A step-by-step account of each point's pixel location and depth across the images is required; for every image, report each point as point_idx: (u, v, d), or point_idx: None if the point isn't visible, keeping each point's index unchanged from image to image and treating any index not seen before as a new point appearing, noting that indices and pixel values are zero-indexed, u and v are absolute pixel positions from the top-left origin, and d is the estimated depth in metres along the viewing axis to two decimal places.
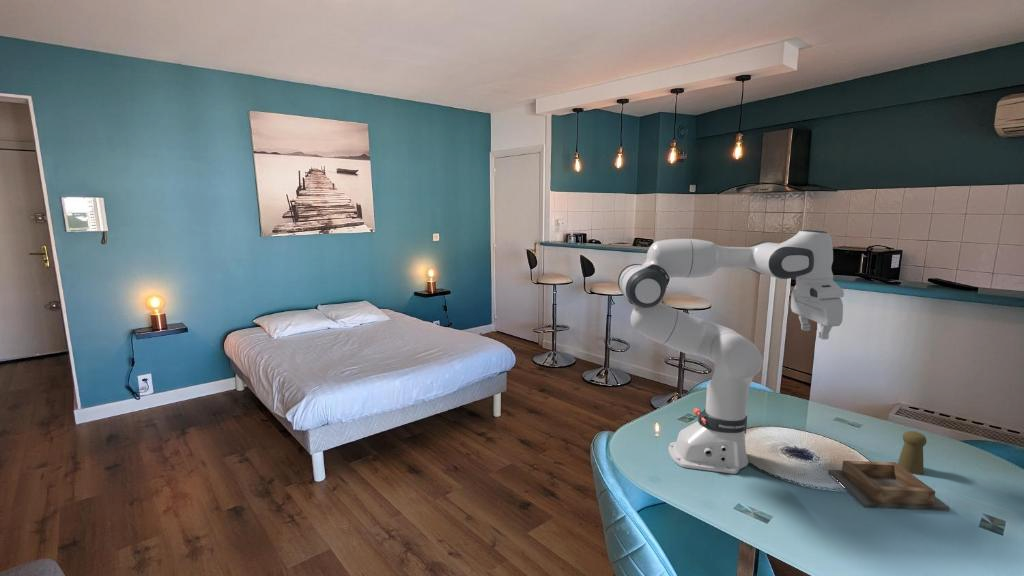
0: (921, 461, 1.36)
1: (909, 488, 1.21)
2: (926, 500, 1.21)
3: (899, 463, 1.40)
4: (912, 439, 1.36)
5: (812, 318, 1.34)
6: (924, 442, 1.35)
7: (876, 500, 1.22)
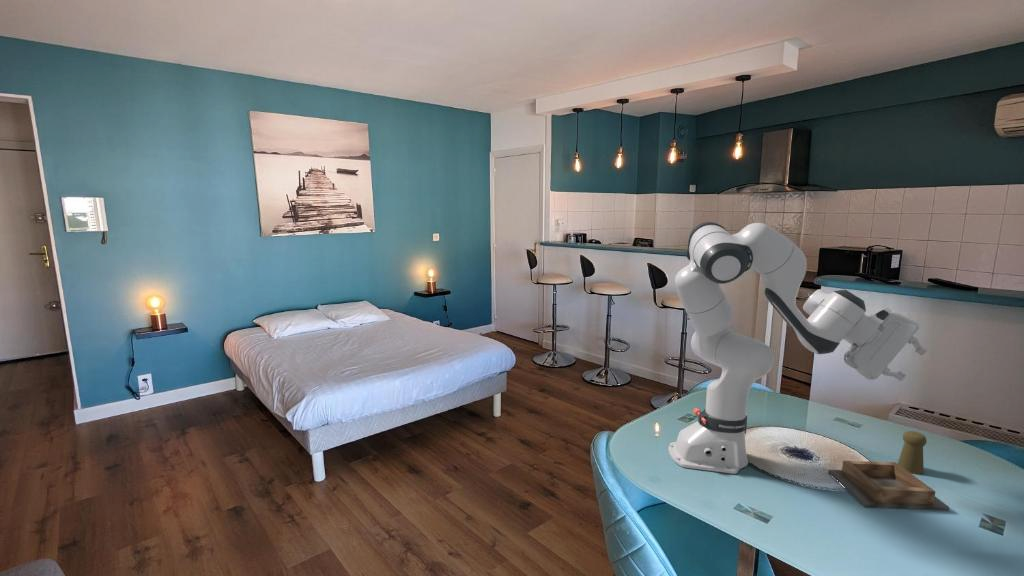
0: (921, 461, 1.36)
1: (909, 488, 1.21)
2: (926, 500, 1.21)
3: (899, 463, 1.40)
4: (912, 439, 1.36)
5: (902, 343, 1.30)
6: (924, 442, 1.35)
7: (876, 500, 1.22)
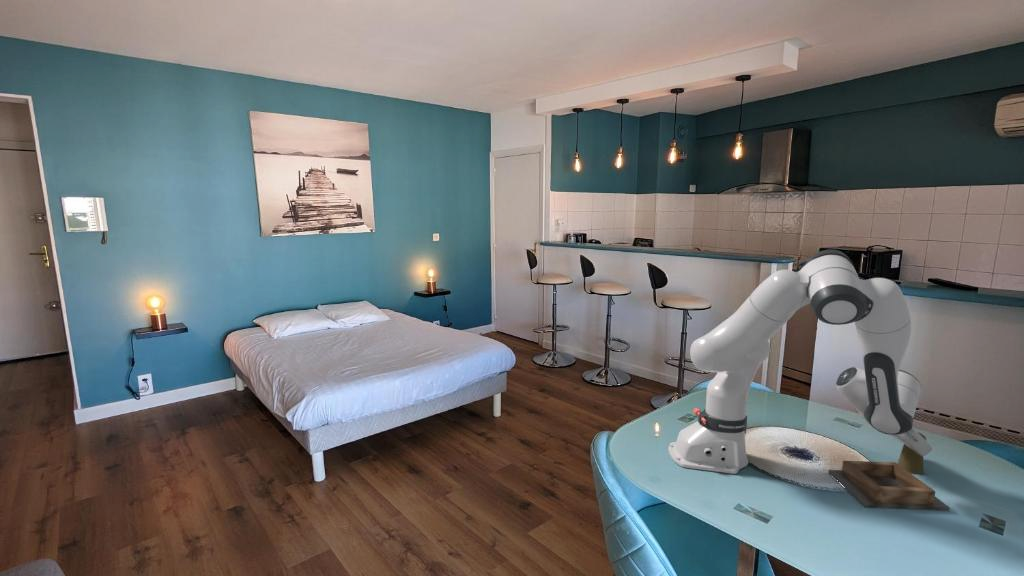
0: (921, 461, 1.36)
1: (909, 488, 1.21)
2: (926, 500, 1.21)
3: (899, 463, 1.40)
4: None
5: None
6: None
7: (876, 500, 1.22)
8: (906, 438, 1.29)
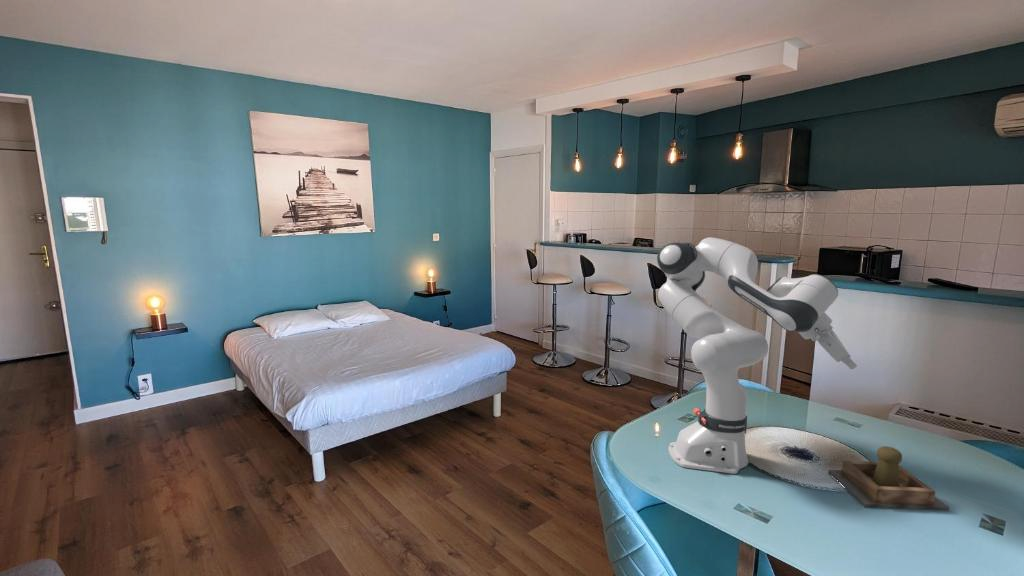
0: (893, 480, 1.25)
1: (909, 488, 1.21)
2: (926, 500, 1.21)
3: (872, 479, 1.30)
4: (883, 453, 1.26)
5: (840, 341, 1.39)
6: (896, 459, 1.24)
7: (876, 500, 1.22)
8: (820, 342, 1.31)
